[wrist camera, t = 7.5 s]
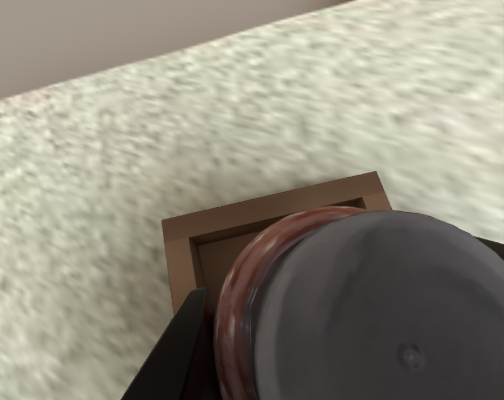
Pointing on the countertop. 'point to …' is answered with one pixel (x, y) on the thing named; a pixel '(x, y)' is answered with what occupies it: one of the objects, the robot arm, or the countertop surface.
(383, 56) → the countertop surface
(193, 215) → the tray
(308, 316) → the supplement bottle
